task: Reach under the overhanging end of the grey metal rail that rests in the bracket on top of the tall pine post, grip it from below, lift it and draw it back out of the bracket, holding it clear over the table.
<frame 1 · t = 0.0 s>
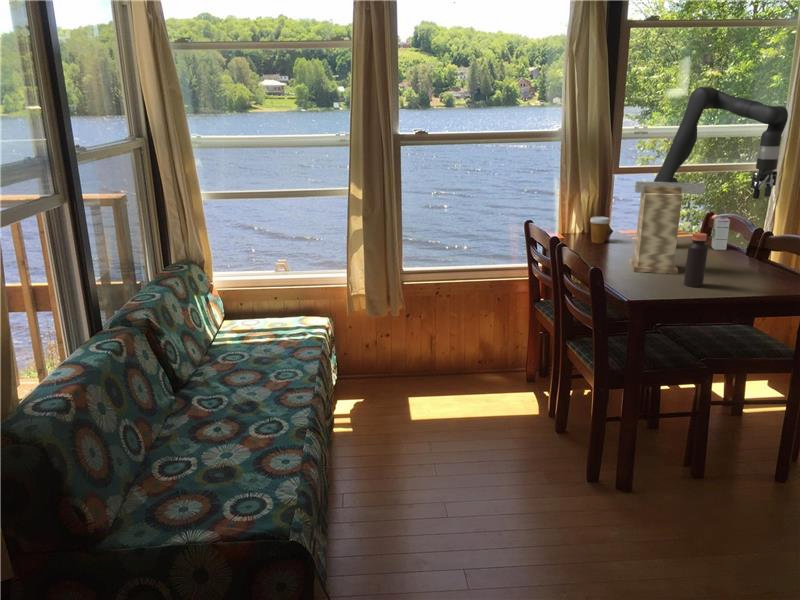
hand: (761, 197, 272), 29 cm above the table, tool pointing down, fingers open, 8 cm apart
rail: (668, 192, 268), point 32 cm above the table, touching post
bottle: (693, 285, 255), on the table
post: (652, 268, 278), on the table
syrup box: (718, 248, 313), on the table
disposable coffee cup: (598, 242, 328), on the table
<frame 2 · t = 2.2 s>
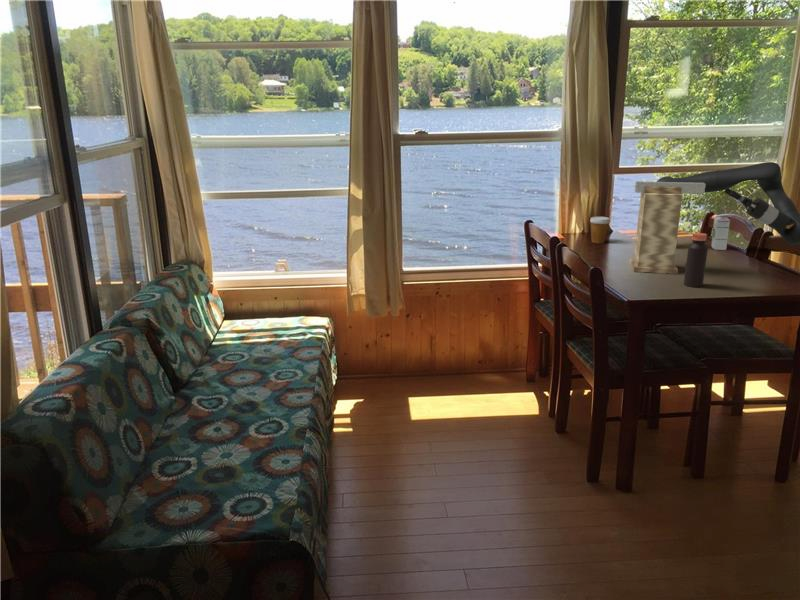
hand: (728, 191, 268), 32 cm above the table, tool pointing upward, fingers open, 8 cm apart
nothing on the table moved.
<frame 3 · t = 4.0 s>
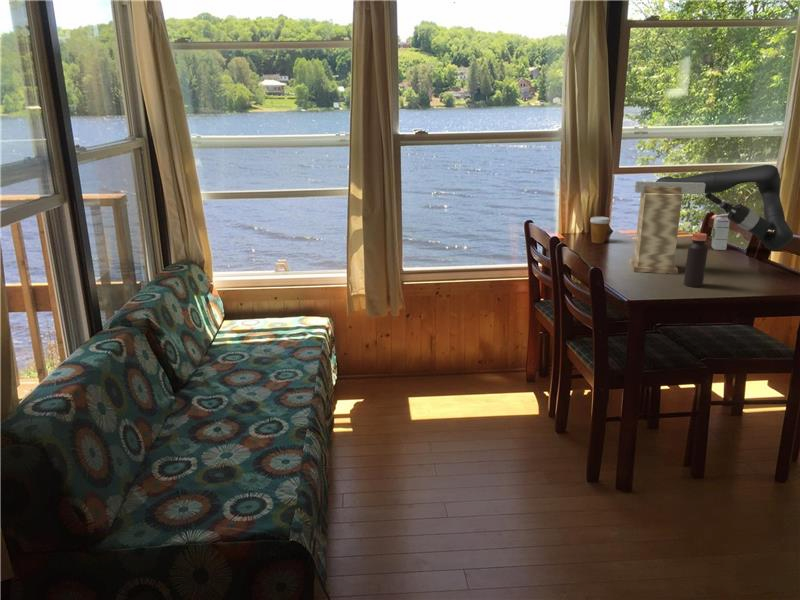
hand: (709, 195, 266), 31 cm above the table, tool pointing upward, fingers open, 8 cm apart
nothing on the table moved.
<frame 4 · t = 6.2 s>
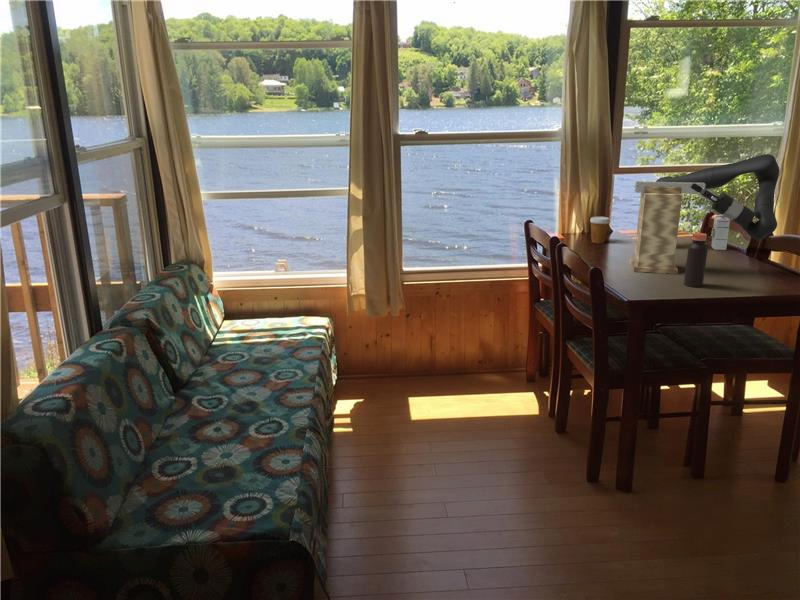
hand: (691, 184, 266), 35 cm above the table, tool pointing upward, fingers closed on rail, 4 cm apart
rail: (668, 192, 268), point 32 cm above the table, touching gripper, post
everything else where it was.
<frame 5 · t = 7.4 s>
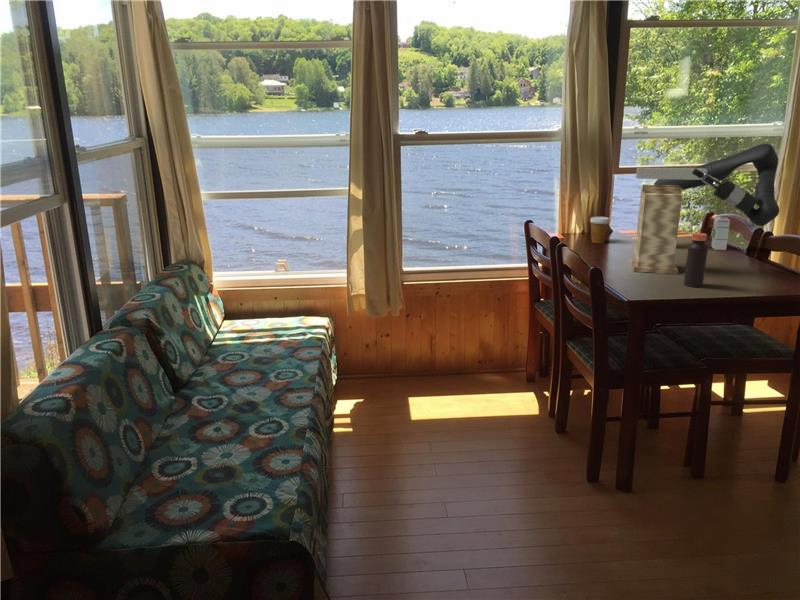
hand: (692, 170, 264), 41 cm above the table, tool pointing upward, fingers closed on rail, 4 cm apart
rail: (670, 178, 267), point 38 cm above the table, touching gripper
everything else where it was.
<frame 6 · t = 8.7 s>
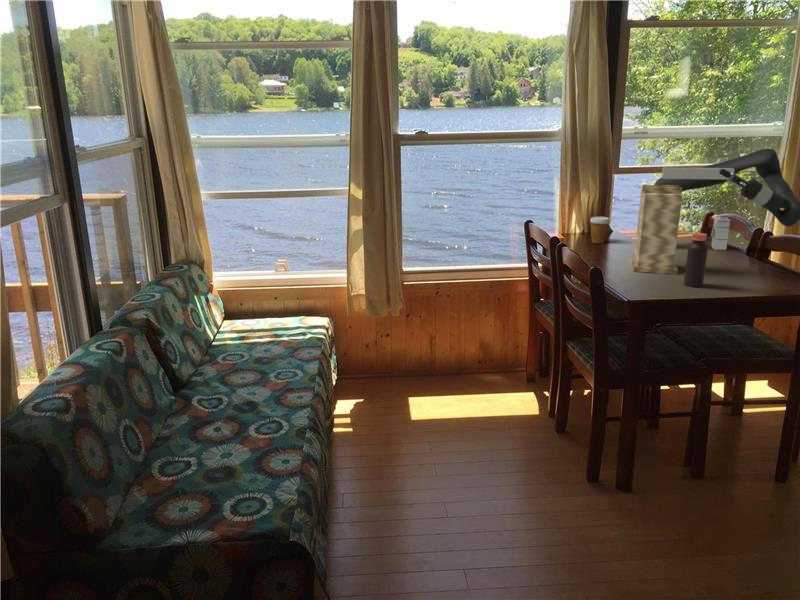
hand: (719, 170, 262), 41 cm above the table, tool pointing upward, fingers closed on rail, 4 cm apart
rail: (696, 178, 265), point 38 cm above the table, touching gripper
everything else where it was.
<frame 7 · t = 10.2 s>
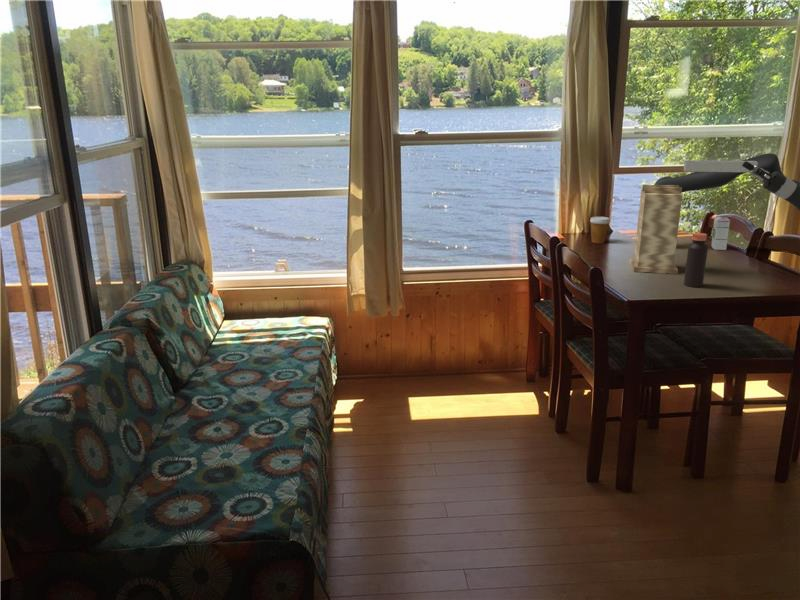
hand: (742, 162, 259), 44 cm above the table, tool pointing upward, fingers closed on rail, 4 cm apart
rail: (719, 171, 262), point 41 cm above the table, touching gripper
everything else where it was.
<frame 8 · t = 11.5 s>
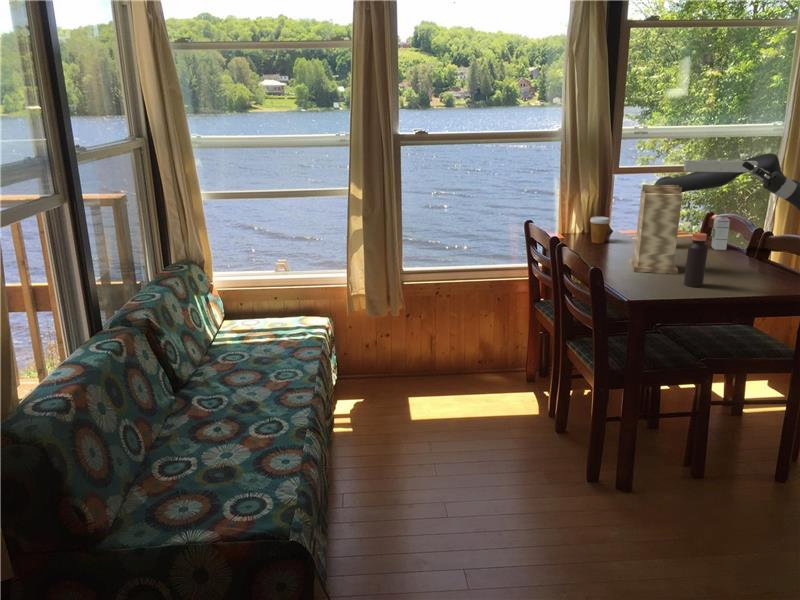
hand: (742, 162, 259), 44 cm above the table, tool pointing upward, fingers closed on rail, 4 cm apart
rail: (719, 171, 262), point 41 cm above the table, touching gripper
everything else where it was.
at the end: the gripper is holding rail; rail touching gripper; rail moved 20.0 cm from its start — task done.
